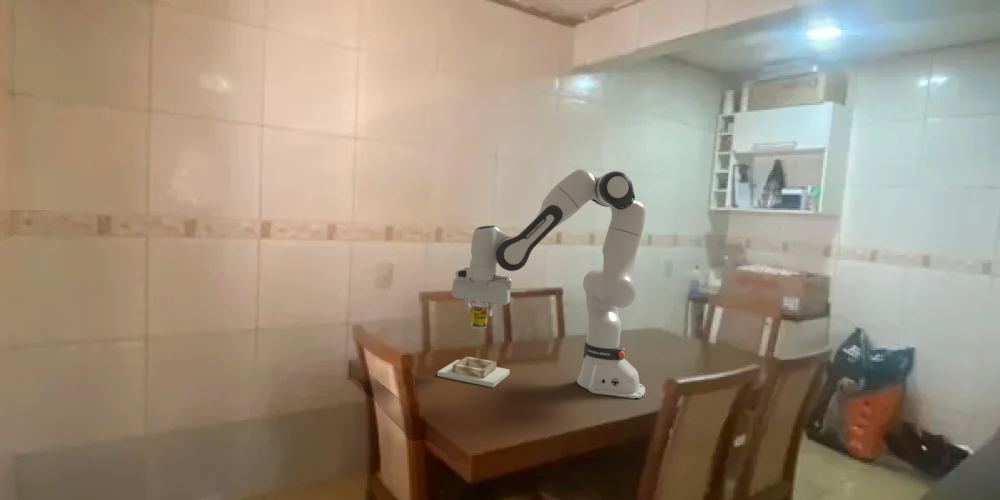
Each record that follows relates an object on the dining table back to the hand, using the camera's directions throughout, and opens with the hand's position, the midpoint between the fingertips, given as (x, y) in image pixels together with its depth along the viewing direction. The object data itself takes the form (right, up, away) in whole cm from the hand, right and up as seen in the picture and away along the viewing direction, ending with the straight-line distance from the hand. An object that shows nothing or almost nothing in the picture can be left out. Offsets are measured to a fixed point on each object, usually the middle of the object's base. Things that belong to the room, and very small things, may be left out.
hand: (479, 314), depth 180 cm
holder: (-2, -21, +2) cm, 21 cm away
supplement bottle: (0, -5, 0) cm, 5 cm away
